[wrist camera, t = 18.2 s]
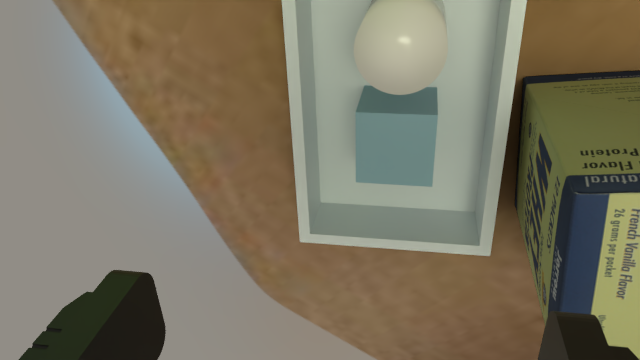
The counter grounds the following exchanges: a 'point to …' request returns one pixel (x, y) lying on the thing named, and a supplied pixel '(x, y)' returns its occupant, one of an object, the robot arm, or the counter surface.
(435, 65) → the white piece
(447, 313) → the counter surface
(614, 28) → the counter surface
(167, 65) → the counter surface
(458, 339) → the counter surface
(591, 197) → the protein box
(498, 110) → the tote
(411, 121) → the cube
